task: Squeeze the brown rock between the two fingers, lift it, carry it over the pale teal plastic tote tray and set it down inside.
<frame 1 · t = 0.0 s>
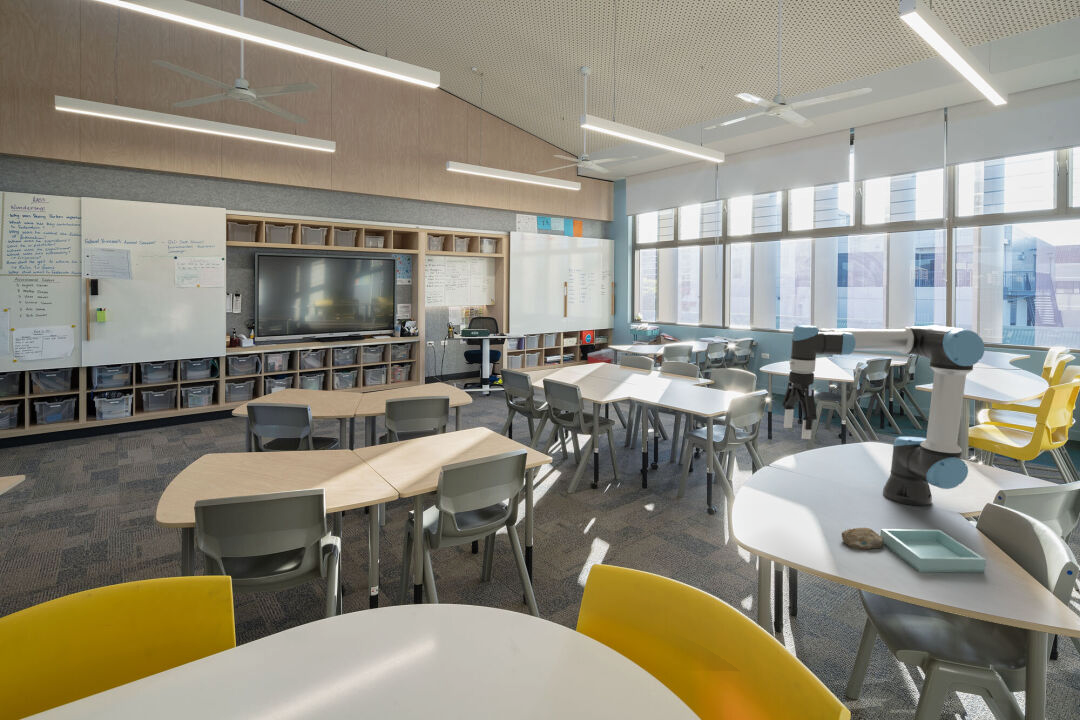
hand: (796, 433, 188), 28 cm above the table, fingers open, 13 cm apart
rock: (860, 545, 168), on the table
tray: (928, 556, 162), on the table
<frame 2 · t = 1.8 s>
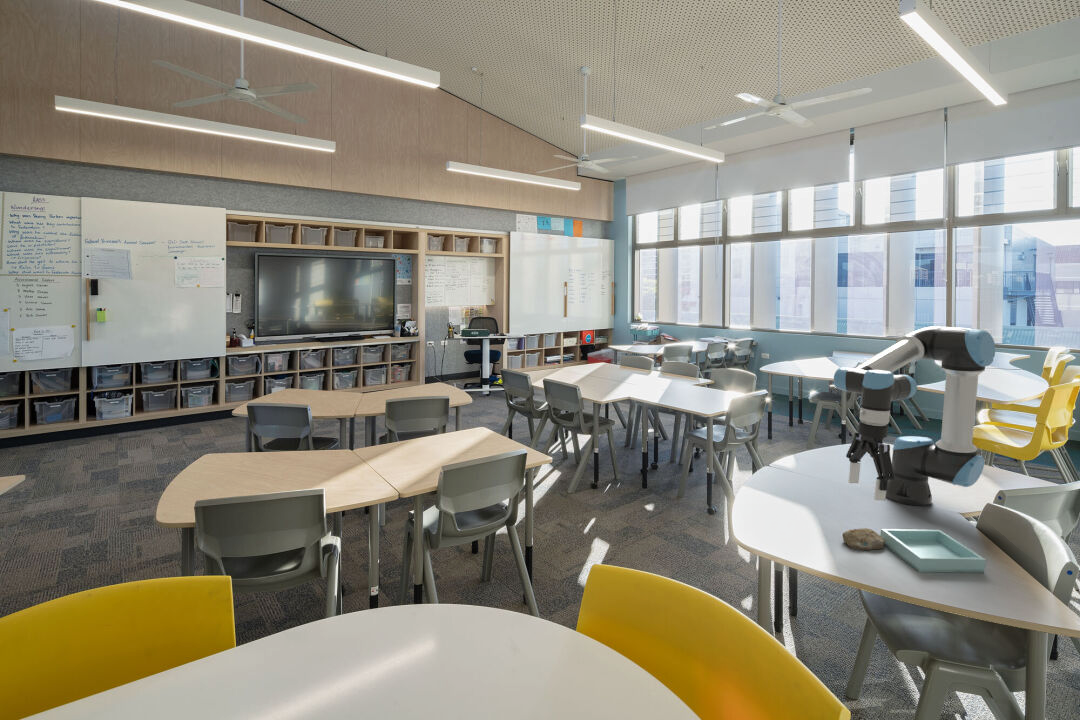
hand: (865, 491, 166), 17 cm above the table, fingers open, 13 cm apart
nothing on the table moved.
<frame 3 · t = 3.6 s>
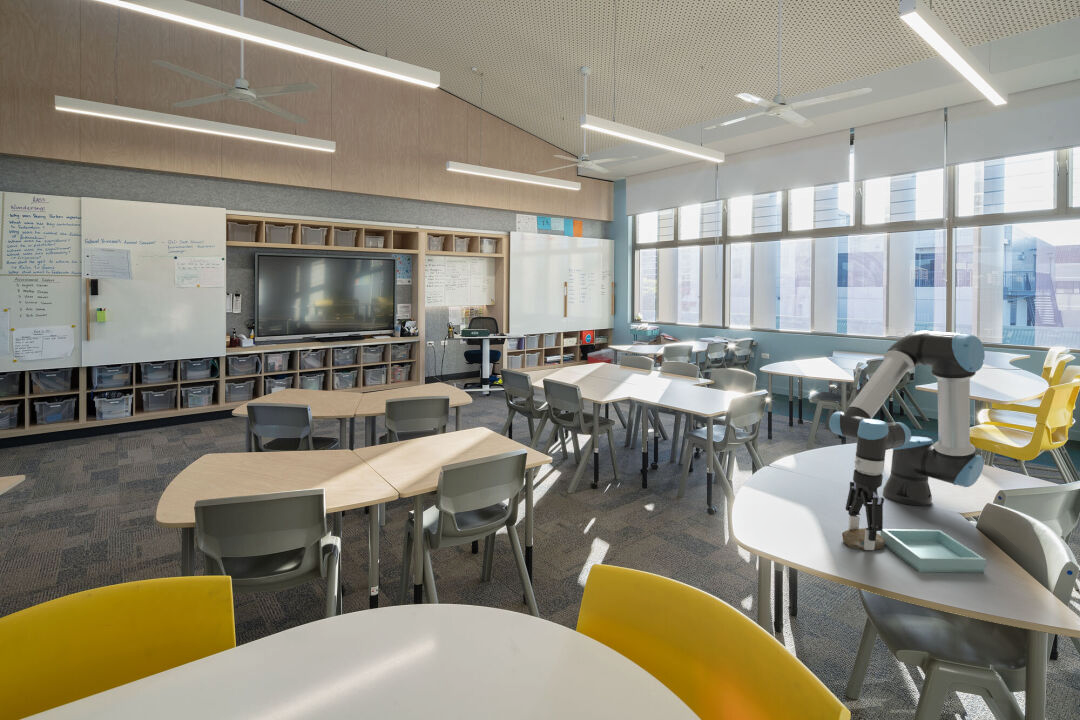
hand: (860, 542, 168), 0 cm above the table, fingers closed on rock, 8 cm apart
rock: (861, 545, 168), on the table, touching gripper
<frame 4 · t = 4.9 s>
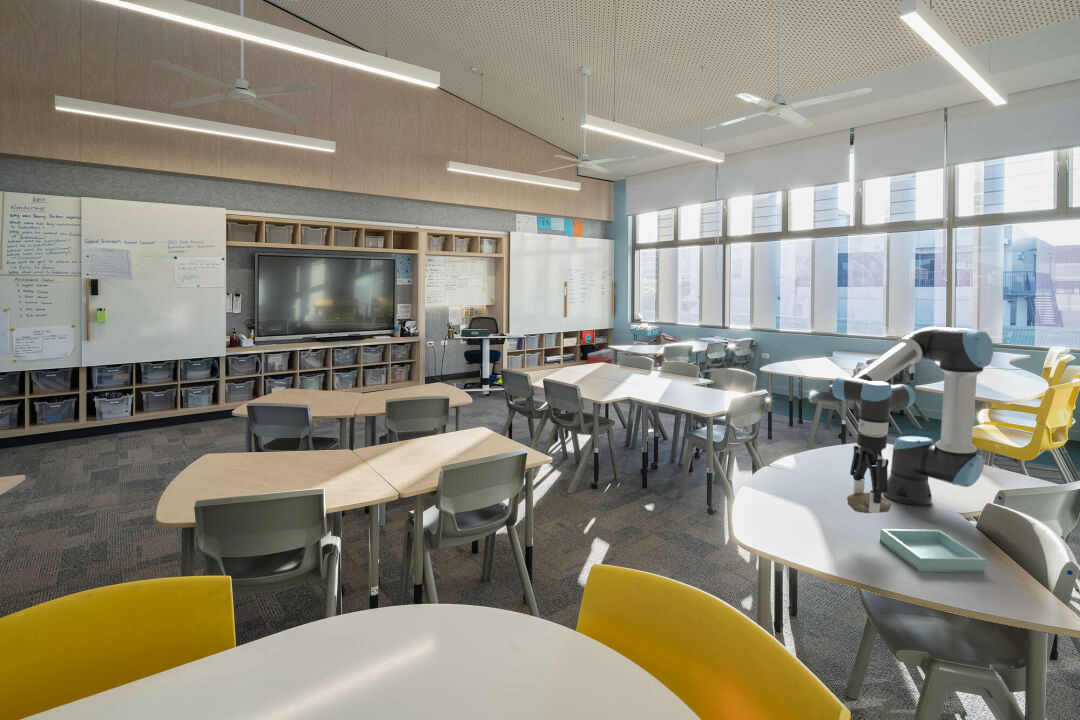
hand: (865, 506, 167), 12 cm above the table, fingers closed on rock, 8 cm apart
rock: (866, 509, 167), point 11 cm above the table, touching gripper
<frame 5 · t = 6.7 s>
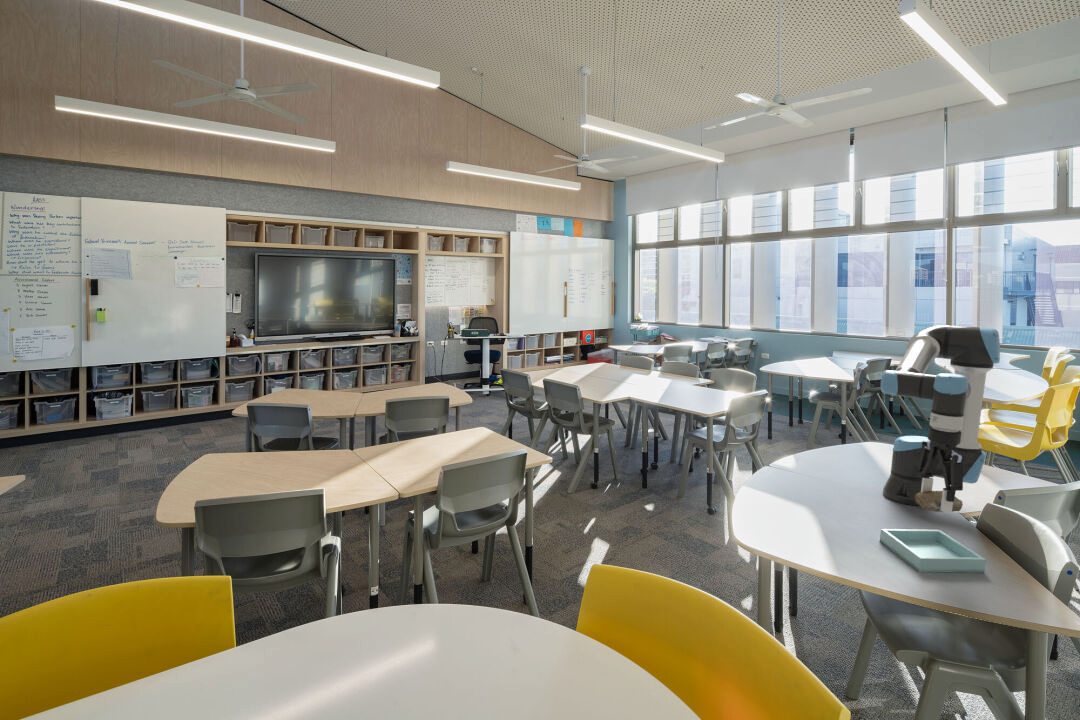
hand: (935, 504, 159), 16 cm above the table, fingers closed on rock, 8 cm apart
rock: (936, 508, 159), point 15 cm above the table, touching gripper
when the fingers open (4 cm above the table, at t = 8.7 s): rock drops 3 cm, resting on tray.
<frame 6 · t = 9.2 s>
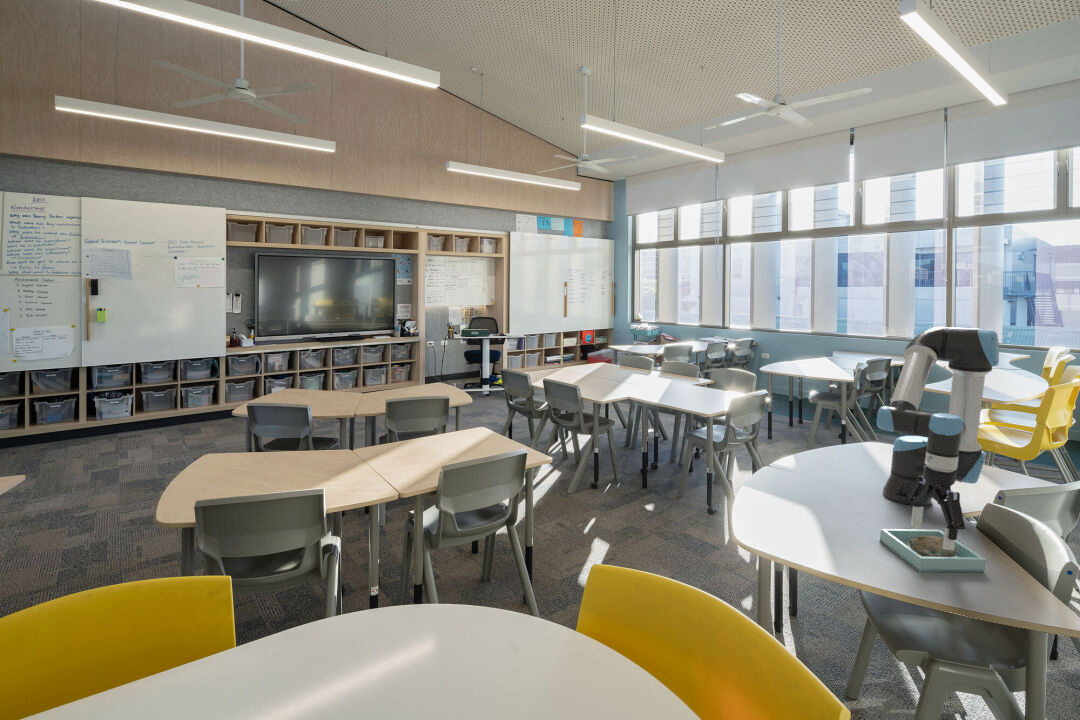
hand: (931, 537, 161), 6 cm above the table, fingers open, 13 cm apart
rock: (930, 554, 161), point 1 cm above the table, touching tray
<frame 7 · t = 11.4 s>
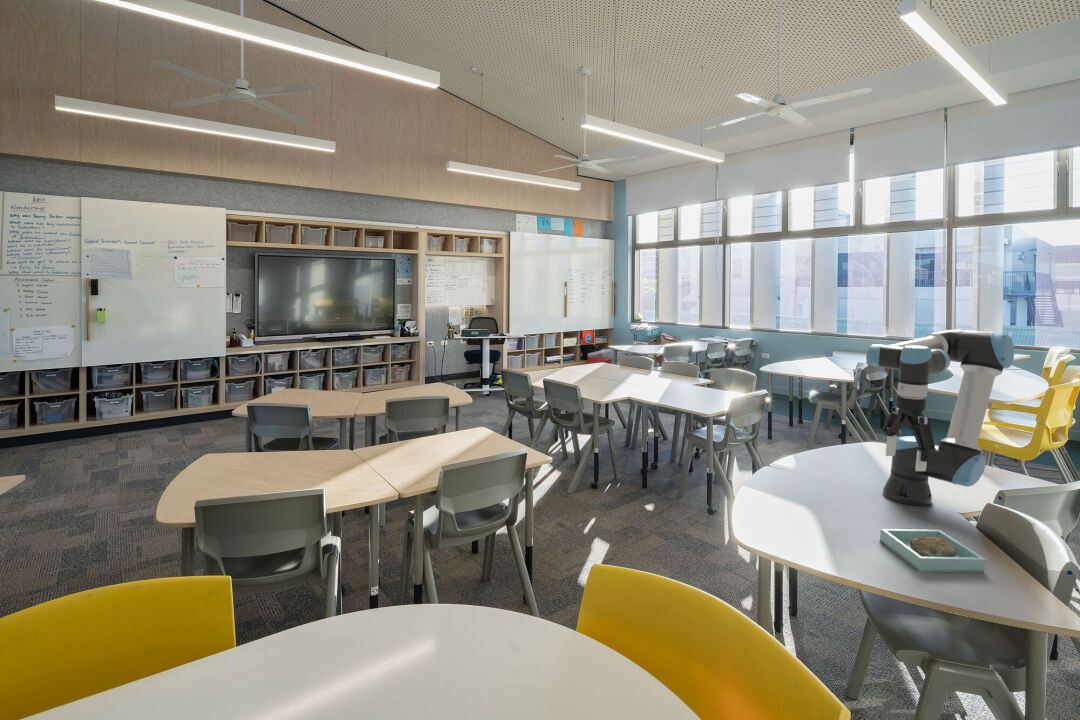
hand: (904, 463, 172), 24 cm above the table, fingers open, 13 cm apart
nothing on the table moved.
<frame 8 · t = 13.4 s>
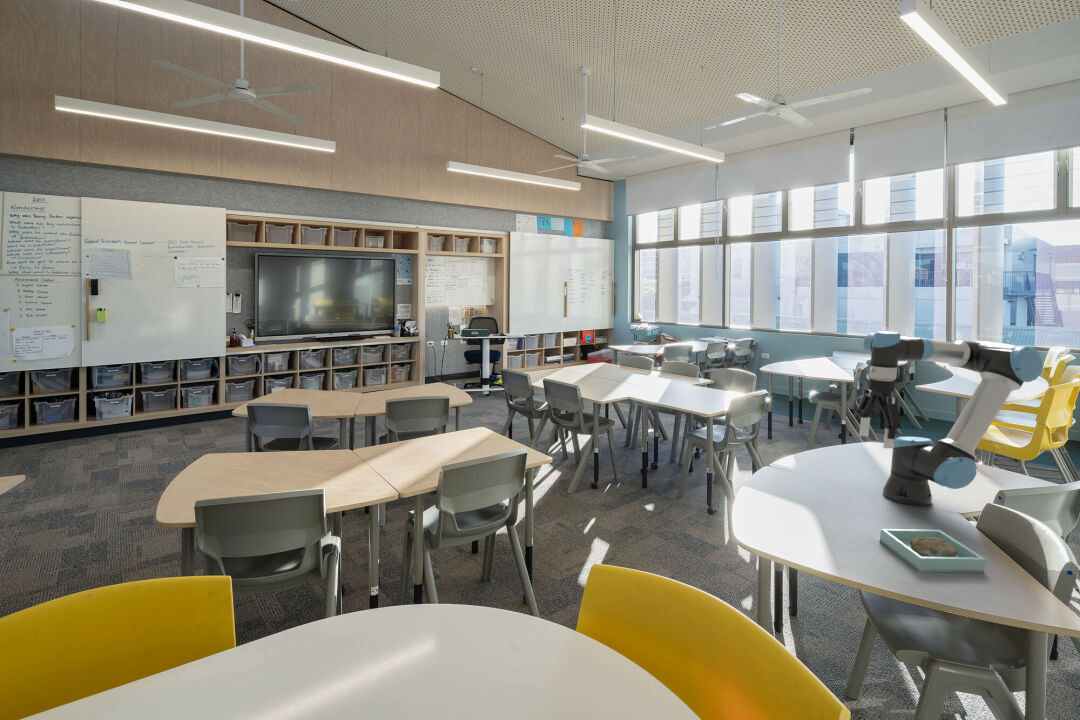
hand: (875, 441, 183), 27 cm above the table, fingers open, 13 cm apart
nothing on the table moved.
at the end: rock inside the target area on the tray (0.5 cm from its centre), point 0.6 cm above the tray's base; the gripper is holding nothing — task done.
